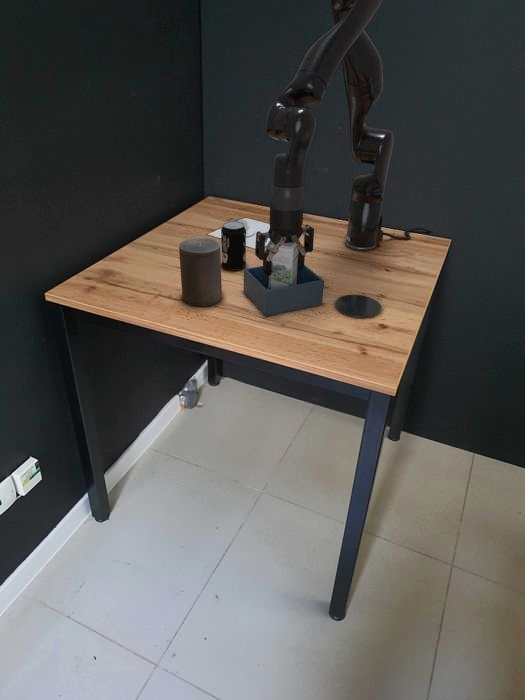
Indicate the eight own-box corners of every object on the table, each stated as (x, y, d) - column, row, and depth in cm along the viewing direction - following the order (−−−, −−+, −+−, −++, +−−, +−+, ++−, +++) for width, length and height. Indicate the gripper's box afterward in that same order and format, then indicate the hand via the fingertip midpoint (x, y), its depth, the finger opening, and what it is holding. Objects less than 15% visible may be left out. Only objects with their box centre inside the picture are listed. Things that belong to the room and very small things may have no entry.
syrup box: (296, 293, 125) (300, 238, 117) (289, 304, 121) (293, 247, 113) (274, 289, 127) (277, 234, 119) (267, 300, 122) (269, 243, 114)
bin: (296, 282, 132) (298, 259, 128) (322, 304, 122) (324, 280, 118) (243, 292, 126) (243, 268, 123) (265, 316, 116) (266, 291, 113)
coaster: (363, 293, 127) (364, 291, 127) (390, 313, 119) (390, 311, 119) (326, 301, 123) (326, 299, 123) (351, 322, 115) (351, 320, 115)
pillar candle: (189, 309, 118) (185, 249, 110) (177, 291, 126) (173, 234, 117) (227, 302, 121) (226, 244, 113) (214, 285, 129) (212, 229, 120)
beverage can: (242, 272, 136) (242, 229, 129) (219, 269, 137) (218, 227, 130) (248, 262, 141) (248, 221, 135) (225, 260, 142) (224, 219, 136)
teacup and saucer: (241, 226, 165) (241, 214, 163) (261, 232, 161) (261, 219, 159) (224, 234, 159) (224, 221, 157) (244, 240, 155) (244, 227, 153)
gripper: (264, 212, 105) (263, 283, 114) (323, 205, 111) (317, 273, 120) (250, 202, 111) (249, 270, 120) (306, 195, 116) (302, 261, 125)
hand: (283, 271), depth 120 cm, fingers closed on syrup box, 8 cm apart
